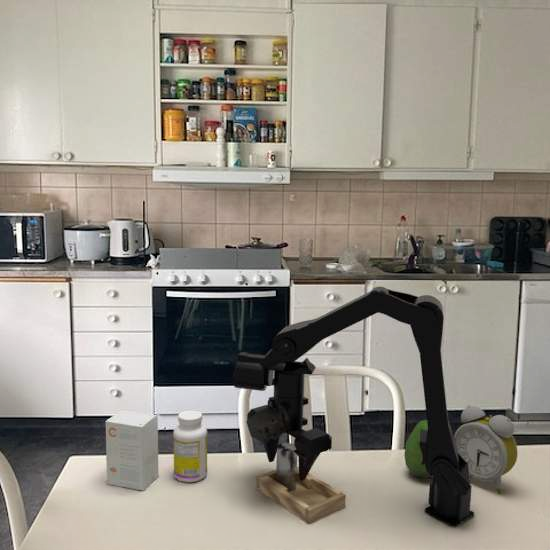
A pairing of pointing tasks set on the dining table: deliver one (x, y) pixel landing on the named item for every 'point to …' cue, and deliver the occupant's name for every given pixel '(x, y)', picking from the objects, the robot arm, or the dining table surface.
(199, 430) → the supplement bottle
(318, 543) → the dining table surface
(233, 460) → the dining table surface
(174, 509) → the dining table surface
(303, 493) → the light brown wooden tray
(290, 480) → the grey metal peg
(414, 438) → the avocado
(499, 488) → the alarm clock
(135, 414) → the small box
